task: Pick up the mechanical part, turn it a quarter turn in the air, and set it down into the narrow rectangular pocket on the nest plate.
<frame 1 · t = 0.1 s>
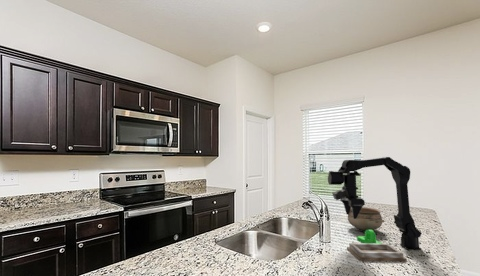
hand: (351, 216, 124), 15 cm above the countertop, tool pointing down, fingers open, 9 cm apart
mechanical part: (369, 244, 127), on the countertop
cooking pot: (365, 230, 150), on the countertop
keyed nest: (375, 254, 112), on the countertop
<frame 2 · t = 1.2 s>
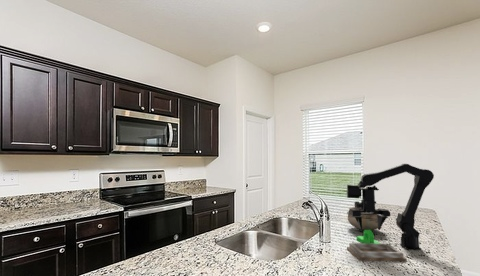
hand: (369, 229, 128), 7 cm above the countertop, tool pointing down, fingers open, 9 cm apart
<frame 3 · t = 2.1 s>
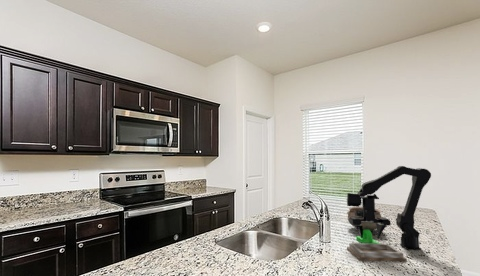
hand: (369, 238, 127), 3 cm above the countertop, tool pointing down, fingers open, 8 cm apart
mechanical part: (368, 244, 127), on the countertop, touching gripper
everything else where it was.
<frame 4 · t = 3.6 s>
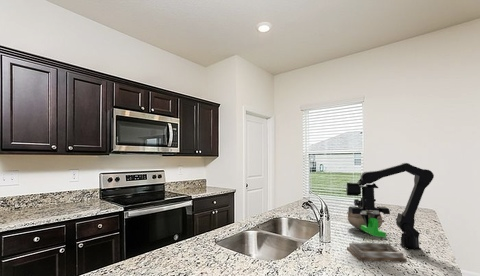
hand: (369, 227, 128), 8 cm above the countertop, tool pointing down, fingers closed on mechanical part
mechanical part: (372, 233, 127), point 5 cm above the countertop, touching gripper
everything else where it was.
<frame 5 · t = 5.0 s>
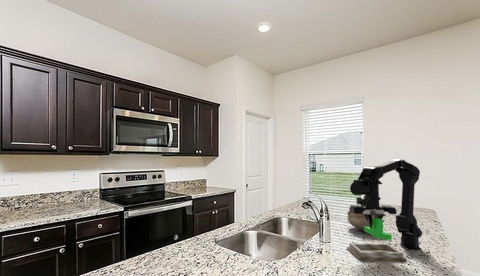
hand: (373, 228, 114), 11 cm above the countertop, tool pointing down, fingers closed on mechanical part
mechanical part: (376, 235, 113), point 8 cm above the countertop, touching gripper
everything else where it was.
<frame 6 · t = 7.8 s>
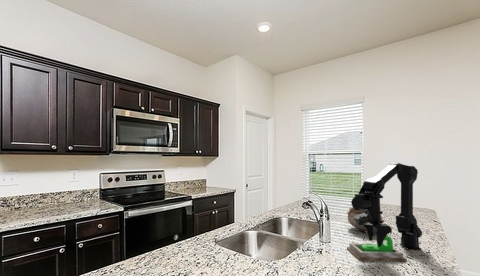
hand: (374, 243, 113), 5 cm above the countertop, tool pointing down, fingers open, 7 cm apart
mechanical part: (375, 252, 113), point 1 cm above the countertop, touching keyed nest
everything else where it was.
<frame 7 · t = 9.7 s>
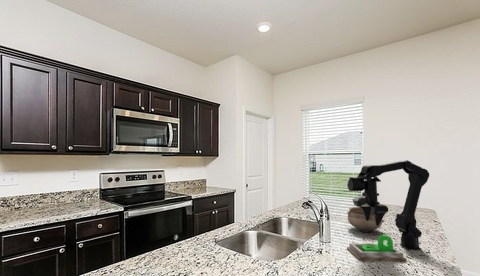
hand: (372, 223, 122), 12 cm above the countertop, tool pointing down, fingers open, 9 cm apart
nothing on the countertop moved.
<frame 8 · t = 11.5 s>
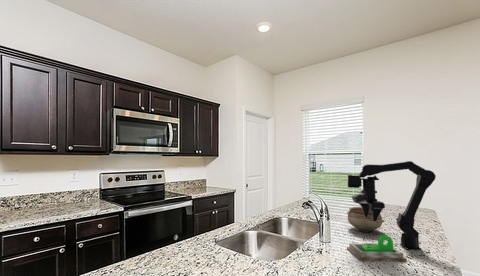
hand: (370, 218, 129), 12 cm above the countertop, tool pointing down, fingers open, 9 cm apart
nothing on the countertop moved.
at the end: mechanical part 1.1 cm off-centre on the keyed nest, point 0.8 cm above the keyed nest's base; mechanical part tilted 0°; the gripper is holding nothing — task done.
